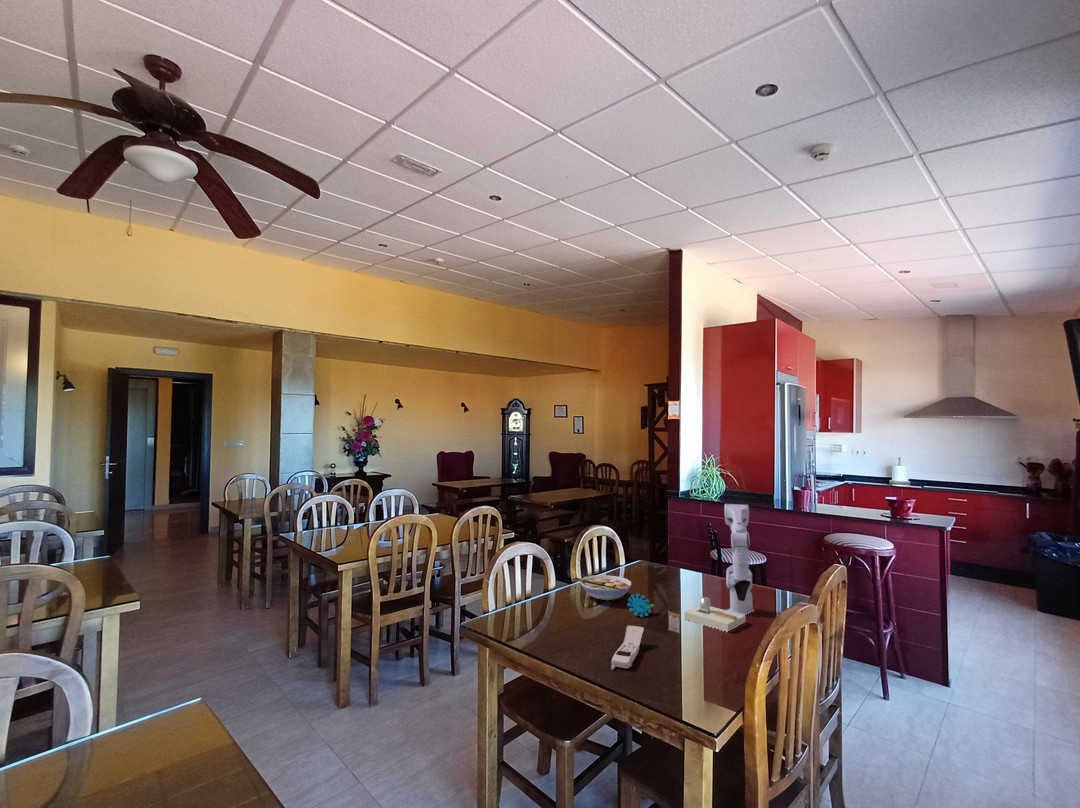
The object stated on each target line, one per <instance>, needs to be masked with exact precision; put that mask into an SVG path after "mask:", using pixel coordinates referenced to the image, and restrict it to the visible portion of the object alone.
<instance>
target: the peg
mask: <svg viewBox="0 0 1080 808" xmlns="http://www.w3.org/2000/svg"><path fill="white" fill-rule="evenodd" d="M700 605H701V613H705V614H710V606H711V598H710V597H707V596H700Z"/></svg>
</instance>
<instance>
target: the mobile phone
mask: <svg viewBox="0 0 1080 808" xmlns="http://www.w3.org/2000/svg"><path fill="white" fill-rule="evenodd" d="M644 628H645V627H643V626H637V625H627V626H626V629H625V633H624V634H625V635H624V638H623V642H622V644H621V645H620V646H619V648H617V650H616V651H615V653H614V654H613V656H612V658H611V667H610V670H611V671H614V670H615V668H621V669H629V668H630V667H632V666H633V662H634V661H635V660H636V657H637V655H638V653H639V650H640V644H641V640H642V638H643V633H644V631H645V630H644Z"/></svg>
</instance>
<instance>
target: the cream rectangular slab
mask: <svg viewBox="0 0 1080 808" xmlns="http://www.w3.org/2000/svg"><path fill="white" fill-rule="evenodd" d="M726 610H727V609H721V608H719V607H715V606H711V605H710V614H705V613H701V604H699V605H698V606H696V607H693V608H690V609H688V610H685V611H684V620H685V619H686V620H685V621H687V620H689V621H688V622H691V621H692V622H691V623H694V622H695V623H694V624H697V623H698V625H700V626H704V625H705V626H704V627H707V626H708V628H711V627H712V628H711V629H714V628H716V629H715V630H717V629H719V630H718V631H721V630H722V631H721V632H724V631H726V632H725V633H727V632H728V631H730V630H732V629H734V628H736V627H738V626H739V625H741V624H743V623H745V622H747V621H746V620H747V619H746V618H747V615H746V616H745V615H741V614H738V613H734V612H730V611H726ZM716 612H721V613H725V614H728V615H732V616H736V617H737V619H735V620H730V619H727V618H723V617H720V616H716V615H714V613H716ZM738 628H739V627H738ZM736 629H737V628H736ZM734 630H735V629H734ZM732 631H733V630H732ZM730 632H731V631H730ZM728 633H729V632H728Z"/></svg>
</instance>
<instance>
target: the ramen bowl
mask: <svg viewBox="0 0 1080 808" xmlns="http://www.w3.org/2000/svg"><path fill="white" fill-rule="evenodd" d="M572 581H577V582H579V583H580V585H581V587H582V588H583V590H584V592H585V593H587V594H588V595H589V596H591V597H592V598H595V599H597V600H599V599H601V600H612V601H614V600H617V599H619V598H622V597H623V596H625V595H626V594H627V593H628V591H629V590H630V589H631V586H632V581H631V580H629V579H628V578H626V577H625V578H624V577H622V576H615V575H605V574H602V575H601V574H600V575H599V574H598V575H590V576H584V577H583V578H581V577H580V578H579V577H574V578H572ZM613 599H614V600H613ZM601 600H600V601H601Z"/></svg>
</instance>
